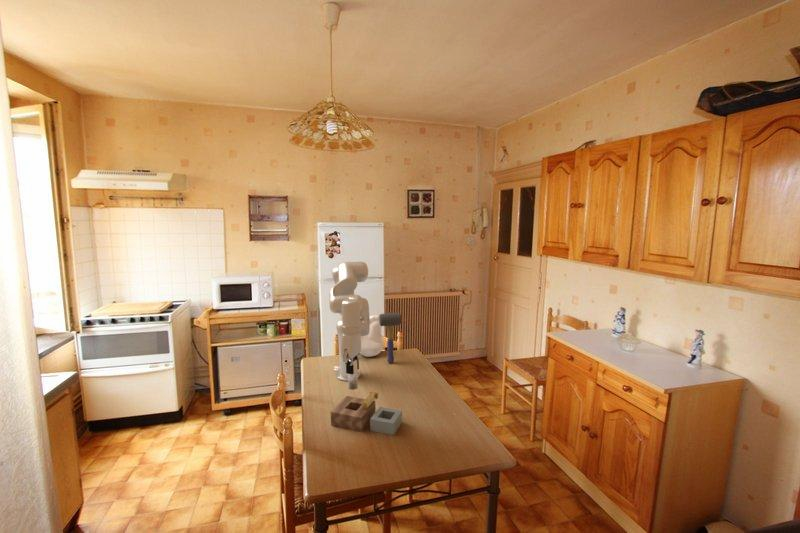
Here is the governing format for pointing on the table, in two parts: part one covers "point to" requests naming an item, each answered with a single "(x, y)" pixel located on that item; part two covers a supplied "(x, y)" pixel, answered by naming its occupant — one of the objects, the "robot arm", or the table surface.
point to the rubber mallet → (390, 330)
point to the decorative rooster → (372, 339)
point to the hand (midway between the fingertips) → (352, 370)
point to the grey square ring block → (386, 420)
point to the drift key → (370, 399)
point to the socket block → (352, 414)
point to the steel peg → (353, 377)
